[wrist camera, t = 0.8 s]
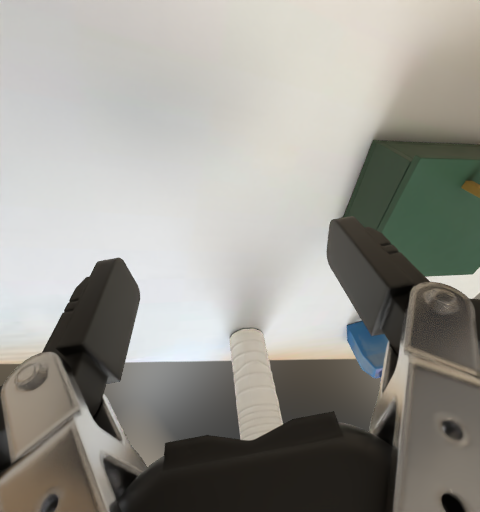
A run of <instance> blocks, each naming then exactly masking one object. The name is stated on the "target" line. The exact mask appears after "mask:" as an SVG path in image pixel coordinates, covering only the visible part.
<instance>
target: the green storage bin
mask: <svg viewBox="0 0 480 512" xmlns="http://www.w3.org/2000/svg"><path fill="white" fill-rule="evenodd" d="M415 155H431V156H461V157H480V145H476V144H452V143H428V142H404V141H380V140H373V142H372V144H371V147H370V149H369V152H368V155H367V157H366V160H365V162H364V165H363V168H362V170H361V173H360V175H359V178H358V180H357V183H356V186H355V188H354V191H353V193H352V196H351V199H350V201H349V204H348V206H347V209H346V211H345V214H344V217H350V216H354V217H355V218H356V219H357V220H358V221H359V222H360V223H361V224H362V226H363V227H371V228H373V229H375V230H376V231H377V229H378V227H379V225H380V223H381V221H382V219H383V217H384V215H385V213H386V211H387V209H388V207H389V205H390V203H391V201H392V199H393V197H394V195H395V193H396V191H397V189H398V187H399V185H400V183H401V181H402V179H403V178H404V176H405V174H406V172H407V170H408V168H409V166H410V164H411V162H412V160H413V158H414V156H415ZM344 217H343V218H344Z"/></svg>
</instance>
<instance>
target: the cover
mask: <svg viewBox="0 0 480 512" xmlns="http://www.w3.org/2000/svg"><path fill="white" fill-rule="evenodd" d="M377 231H378V232H380V233H382V234H383V235H384V236H385V237H386V238H387V239H388V240H389V241H390V242H391V245H392V244H393V245H394V246H395V247H396V248H397V249H398V250H399V252H401V253H402V254H403V255H404V256H405V257H406V258H407V259H408V260H409V261H410V262H411V263H412V264H413V265H414V266H415V267H416V268H417V269H418V270H419V271H420V272H421V273H422V274H423V275H424V276H445V275H468V274H474V273H475V271H476V270H477V269H478V268H479V267H480V157H461V156H431V155H415V156H414V158H413V160H412V162H411V164H410V166H409V168H408V170H407V172H406V174H405V176H404V178H403V179H402V181H401V183H400V185H399V187H398V189H397V191H396V193H395V195H394V197H393V199H392V201H391V203H390V205H389V207H388V209H387V211H386V213H385V215H384V217H383V219H382V221H381V223H380V225H379V227H378V229H377Z"/></svg>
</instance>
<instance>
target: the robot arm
mask: <svg viewBox="0 0 480 512" xmlns="http://www.w3.org/2000/svg"><path fill="white" fill-rule="evenodd" d="M327 259H328V263H329V265H330V267H331V269H332V271H333V272H334V274H335V276H336V277H337V279H338V281H339V282H340V284H341V286H342V288H343V289H344V291H345V293H346V294H347V296H348V298H349V299H350V301H351V303H352V304H353V306H354V308H355V309H356V311H357V313H358V314H359V316H360V318H361V319H362V321H363V323H364V324H365V326H366V328H367V329H368V331H369V333H370V334H371V336H376V335H381V334H385V336H386V338H387V339H388V343H387V347H386V352H385V358H384V364H383V370H382V376H381V382H380V387H379V393H378V398H377V402H376V405H375V408H374V411H373V415H372V419H371V424H370V429H369V432H368V431H366V430H364V429H361V428H359V427H356V426H353V425H349V424H345V423H339V422H338V421H337V418H336V416H335V413H334V411H333V412H328V413H323V414H317V415H312V416H307V417H301V418H296V419H292V420H290V421H288V422H287V423H285V424H283V425H281V426H279V427H277V428H275V429H273V430H271V431H270V432H268V433H266V434H264V435H262V436H260V437H258V438H256V439H254V440H240V439H232V438H225V437H217V436H209V435H206V436H200V437H195V438H189V439H184V440H179V441H173V442H168V443H165V453H164V456H163V457H161V458H160V459H158V460H157V461H155V462H154V463H152V464H151V465H150V466H149V467H147V466H146V464H145V463H144V461H143V460H142V458H141V457H140V456H139V454H138V453H137V452H136V451H135V450H134V448H133V447H132V445H131V444H130V442H129V440H128V438H127V437H126V435H125V433H124V431H123V429H122V427H121V425H120V423H119V421H118V419H117V417H116V415H115V413H114V411H113V409H112V407H111V405H110V403H109V401H108V399H107V397H106V396H105V395H104V390H105V387H106V384H110V383H115V382H120V380H121V376H122V372H123V368H124V364H125V360H126V355H127V351H128V347H129V343H130V339H131V335H132V330H133V326H134V322H135V318H136V314H137V310H138V306H139V301H140V292H139V288H138V285H137V283H136V282H135V280H134V278H133V276H132V275H131V273H130V271H129V269H128V268H127V266H126V264H125V262H124V261H123V260H122V259H121V258H114V259H109V260H103V261H99V262H97V263H96V265H95V267H94V269H93V271H92V273H91V275H90V277H86V278H85V279H84V280H83V281H82V282H81V283H80V284H79V285H78V286H77V287H76V289H75V291H74V292H73V294H72V296H71V298H70V300H69V301H70V303H68V304H67V306H66V308H65V310H64V311H65V312H64V313H63V314H62V315H61V317H60V319H59V321H58V323H57V325H56V327H55V329H54V331H53V333H52V335H51V337H50V338H49V340H48V342H47V344H46V346H45V348H44V350H43V352H42V353H39V354H37V355H34V356H32V357H30V358H29V359H27V360H26V361H24V362H23V363H21V364H20V365H19V366H18V367H17V368H16V369H15V370H14V371H13V372H12V373H11V374H10V375H9V377H8V378H7V380H6V381H5V383H4V385H2V386H0V512H480V300H478V299H469V298H468V297H467V296H466V295H464V294H463V293H462V292H460V291H459V290H457V289H455V288H453V287H451V286H448V285H445V284H442V283H436V282H430V281H429V280H428V279H427V278H426V277H425V276H424V275H423V274H422V273H421V272H420V271H419V270H418V269H417V268H416V267H415V266H414V265H413V264H412V263H411V262H410V261H409V260H408V259H407V258H406V257H405V256H404V255H403V254H402V253H401V252H399V250H398V249H397V248H396V247H395V246H394V245H393V244H392V245H391V242H390V241H389V240H388V239H387V238H386V237H385V236H384V235H383V234H382V233H380V232H378V231H376V230H375V229H373V228H371V227H363V226H362V224H361V223H360V222H359V221H358V220H357V219H356V218H355V217H354V216H350V217H344V218H339V219H333V220H331V222H330V227H329V235H328V244H327Z"/></svg>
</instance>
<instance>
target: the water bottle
mask: <svg viewBox="0 0 480 512" xmlns="http://www.w3.org/2000/svg"><path fill="white" fill-rule="evenodd" d="M230 349H231V358H232V363H233V365H232V367H233V373H234V384H235V395H236V398H237V400H236V404H237V412H238V421H239V428H240V435H241V436H240V439H241V440H254V439H256V438H258V437H260V436H262V435H264V434H266V433H268V432H270V431H271V430H273V429H275V428H277V427H279V426H281V425H283V422H282V417H281V412H280V409H279V403H278V398H277V394H276V392H275V384H274V381H273V376H272V372H271V371H270V369H271V367H270V362H269V359H268V353H267V349H266V345H265V340H264V336H263V333H262V332H261V331H259V330H257V329H253V328H250V329H242V330H239V331H238V332H235V333H234V334H233V335H232V336H231V338H230Z"/></svg>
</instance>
